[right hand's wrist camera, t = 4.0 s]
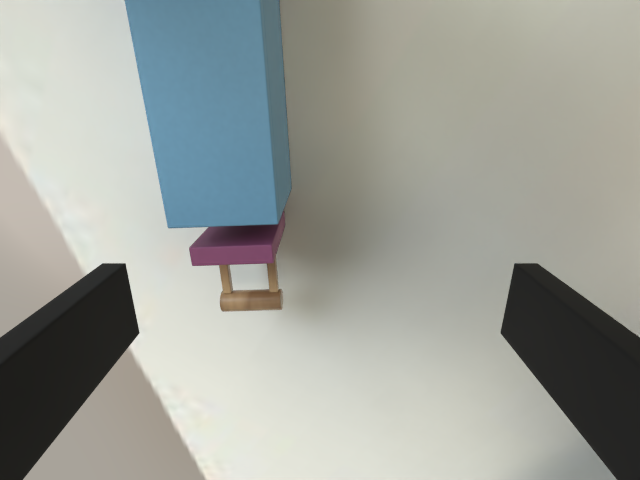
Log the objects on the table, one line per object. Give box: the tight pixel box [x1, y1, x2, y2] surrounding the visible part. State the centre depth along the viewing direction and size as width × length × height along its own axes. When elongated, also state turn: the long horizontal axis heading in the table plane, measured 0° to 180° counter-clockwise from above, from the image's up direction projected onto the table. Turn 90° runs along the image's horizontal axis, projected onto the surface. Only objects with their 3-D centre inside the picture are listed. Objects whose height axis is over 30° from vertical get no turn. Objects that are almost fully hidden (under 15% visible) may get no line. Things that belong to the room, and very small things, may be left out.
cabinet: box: [125, 0, 292, 228], centre depth 21 cm, size 21×6×9 cm, turn 2°
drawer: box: [189, 211, 285, 312], centre depth 23 cm, size 25×5×8 cm, turn 2°
